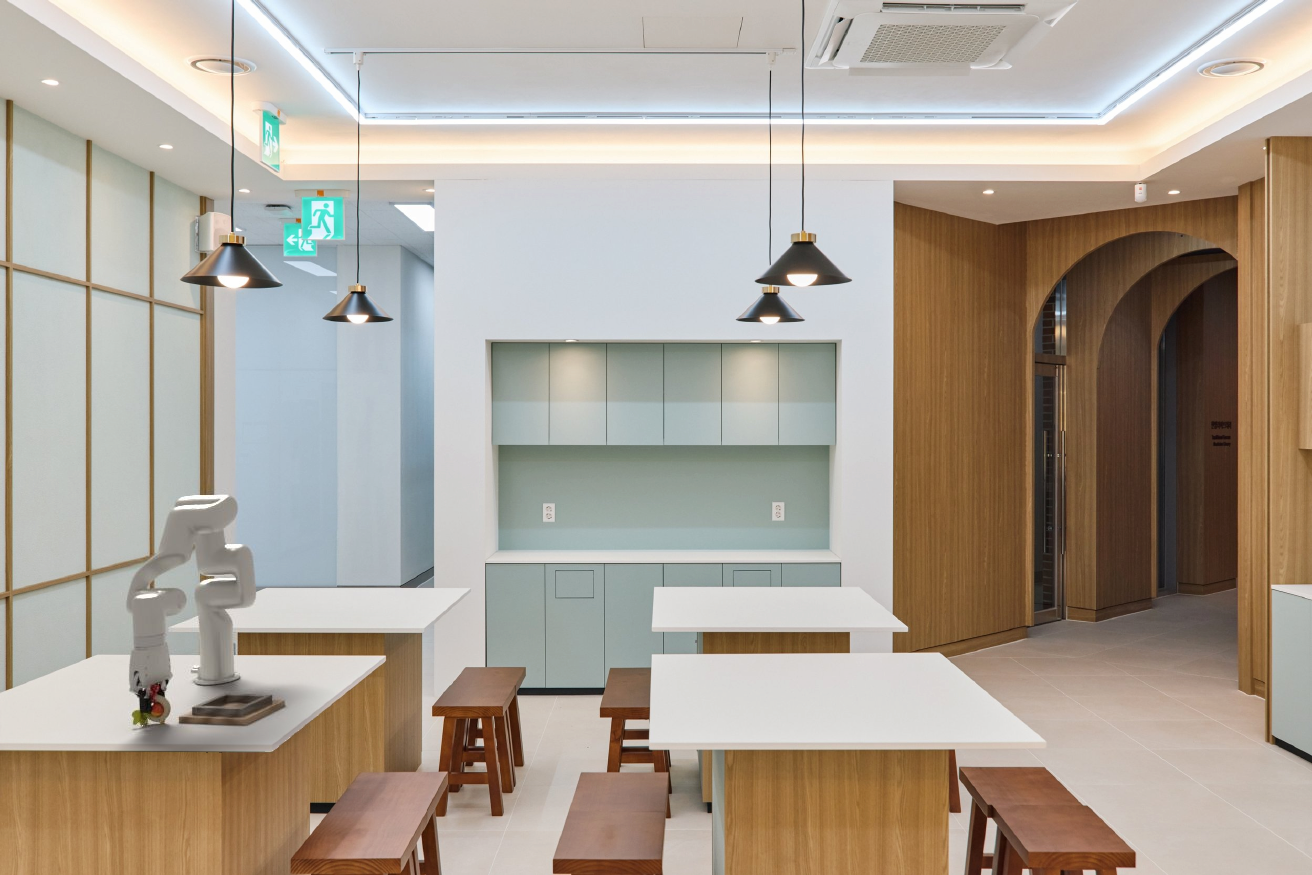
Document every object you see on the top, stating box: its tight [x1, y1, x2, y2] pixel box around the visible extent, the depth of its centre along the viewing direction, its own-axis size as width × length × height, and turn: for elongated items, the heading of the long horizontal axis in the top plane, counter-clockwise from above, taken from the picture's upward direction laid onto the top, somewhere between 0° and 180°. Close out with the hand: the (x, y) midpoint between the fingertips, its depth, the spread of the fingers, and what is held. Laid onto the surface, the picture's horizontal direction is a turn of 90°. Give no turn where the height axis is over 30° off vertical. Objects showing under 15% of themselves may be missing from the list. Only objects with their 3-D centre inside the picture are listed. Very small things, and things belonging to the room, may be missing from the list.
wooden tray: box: [178, 692, 286, 726], centre depth 246 cm, size 20×17×4 cm
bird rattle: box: [131, 684, 172, 727], centre depth 239 cm, size 6×11×9 cm
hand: (152, 708), depth 239 cm, fingers open, 4 cm apart
